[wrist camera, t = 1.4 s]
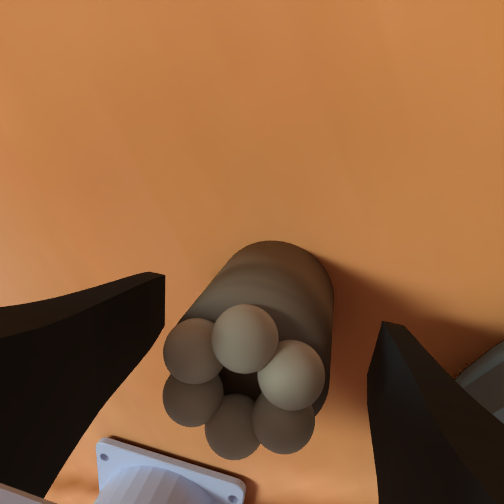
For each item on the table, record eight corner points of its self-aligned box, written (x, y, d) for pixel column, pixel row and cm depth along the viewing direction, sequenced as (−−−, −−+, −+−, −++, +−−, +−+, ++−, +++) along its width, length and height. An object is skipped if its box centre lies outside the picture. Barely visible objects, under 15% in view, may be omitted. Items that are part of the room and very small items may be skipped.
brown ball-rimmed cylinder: (322, 355, 14) (309, 500, 9) (216, 330, 15) (145, 448, 9) (344, 252, 12) (345, 352, 7) (224, 231, 13) (143, 305, 8)
